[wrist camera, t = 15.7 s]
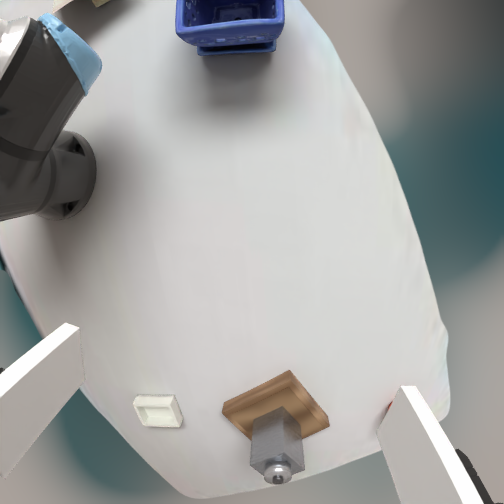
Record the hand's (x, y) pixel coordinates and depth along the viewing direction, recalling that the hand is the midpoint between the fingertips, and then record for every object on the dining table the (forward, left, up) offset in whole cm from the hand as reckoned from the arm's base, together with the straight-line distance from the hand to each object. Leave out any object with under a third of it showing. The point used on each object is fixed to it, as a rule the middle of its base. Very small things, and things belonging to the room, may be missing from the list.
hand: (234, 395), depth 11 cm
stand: (+9, -31, -35) cm, 47 cm away
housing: (+9, -31, -31) cm, 45 cm away
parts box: (-13, -36, -35) cm, 52 cm away
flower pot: (-9, +32, -35) cm, 48 cm away
